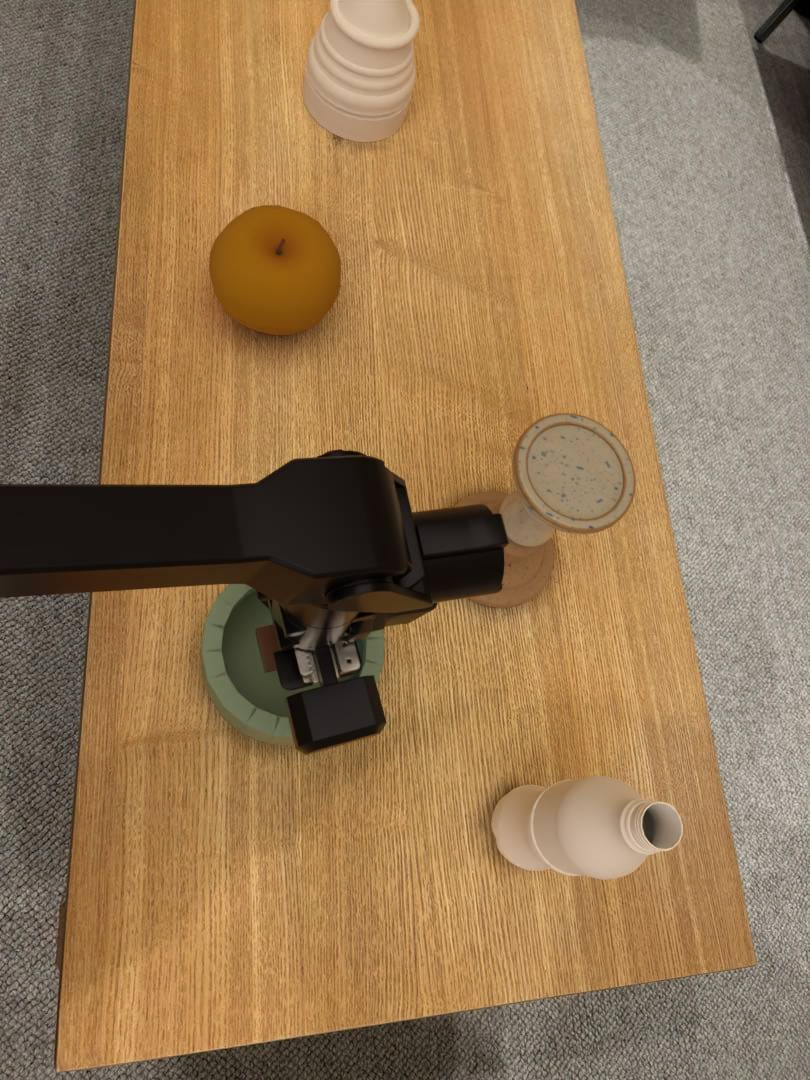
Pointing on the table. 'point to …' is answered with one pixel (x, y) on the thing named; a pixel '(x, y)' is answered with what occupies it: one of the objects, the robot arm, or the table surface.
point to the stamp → (267, 646)
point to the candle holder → (556, 497)
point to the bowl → (257, 666)
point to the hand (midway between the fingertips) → (297, 638)
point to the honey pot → (362, 68)
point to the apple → (275, 270)
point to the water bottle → (583, 827)
